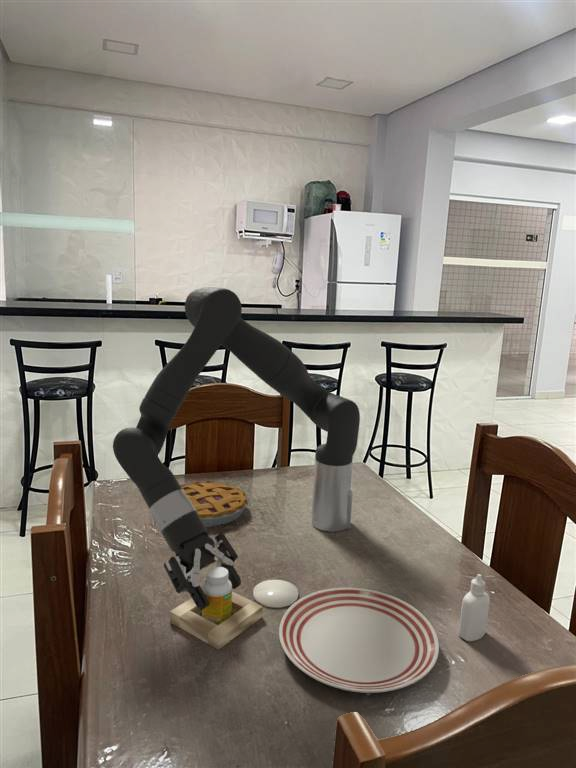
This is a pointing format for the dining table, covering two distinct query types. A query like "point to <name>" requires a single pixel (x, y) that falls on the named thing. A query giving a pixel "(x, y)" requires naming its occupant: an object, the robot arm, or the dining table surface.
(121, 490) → the dining table surface
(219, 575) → the supplement bottle
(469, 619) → the eye dropper bottle
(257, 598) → the pale ceramic coaster
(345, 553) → the dining table surface
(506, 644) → the dining table surface
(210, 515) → the pie
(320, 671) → the dinner plate
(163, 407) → the robot arm
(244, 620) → the birch pocket block
